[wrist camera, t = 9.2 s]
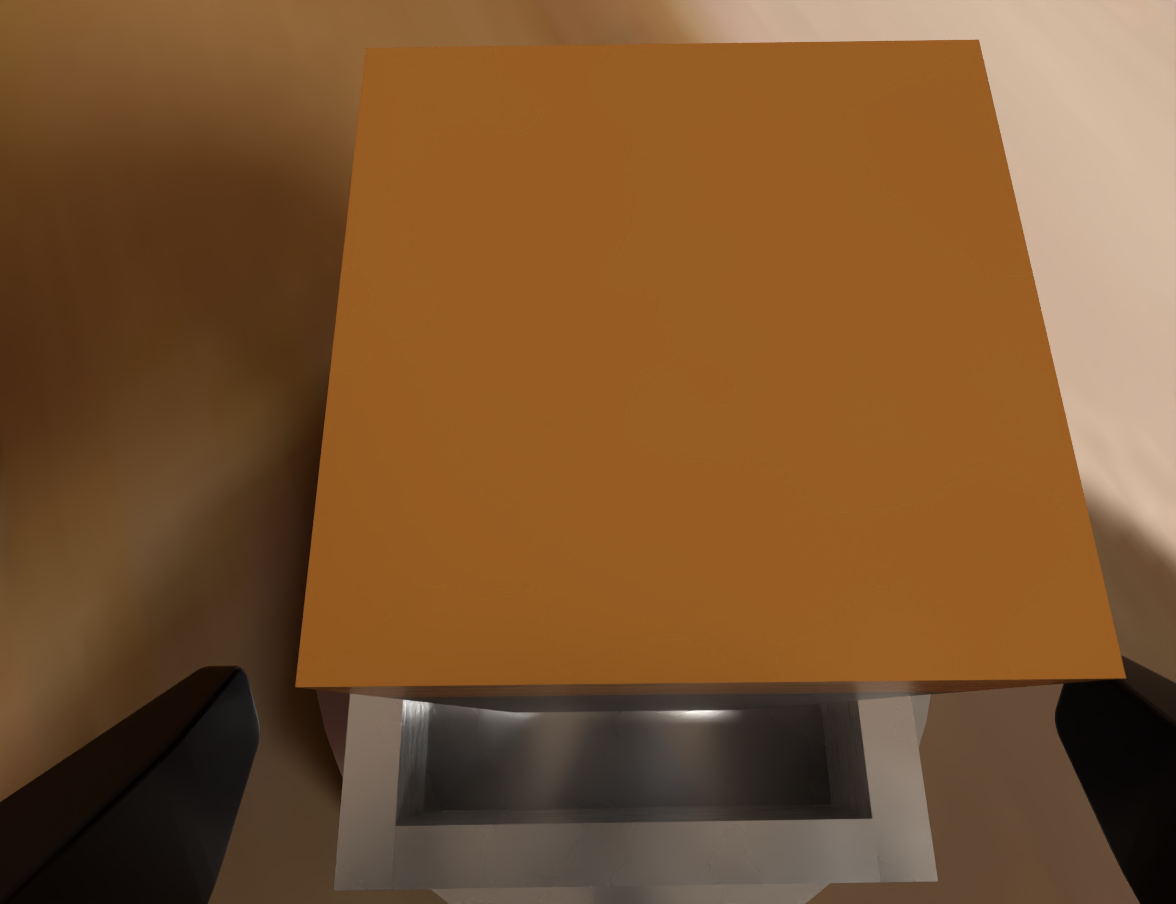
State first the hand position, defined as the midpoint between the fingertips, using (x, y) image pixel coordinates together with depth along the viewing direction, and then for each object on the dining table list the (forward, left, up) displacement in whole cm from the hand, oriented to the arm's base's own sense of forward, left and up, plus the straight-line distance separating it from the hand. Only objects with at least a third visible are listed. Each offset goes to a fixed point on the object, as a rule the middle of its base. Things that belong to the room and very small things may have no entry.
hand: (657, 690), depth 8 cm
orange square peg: (+1, +2, -9) cm, 9 cm away
